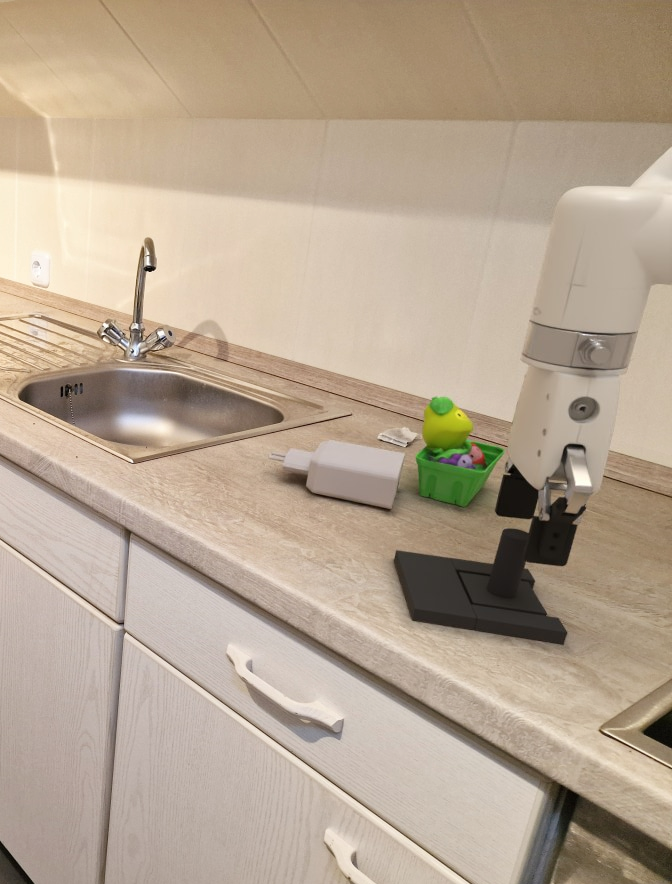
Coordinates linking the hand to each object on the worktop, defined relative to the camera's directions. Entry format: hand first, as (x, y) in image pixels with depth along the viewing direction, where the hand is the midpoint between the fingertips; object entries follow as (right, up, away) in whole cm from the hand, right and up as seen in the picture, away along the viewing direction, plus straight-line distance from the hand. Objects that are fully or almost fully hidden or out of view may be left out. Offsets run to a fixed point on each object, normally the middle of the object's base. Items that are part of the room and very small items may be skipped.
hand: (527, 538), depth 75 cm
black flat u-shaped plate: (-3, -6, +3) cm, 7 cm away
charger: (-8, +4, +28) cm, 29 cm away
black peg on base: (-1, -6, +2) cm, 7 cm away
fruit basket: (+7, +4, +29) cm, 30 cm away
